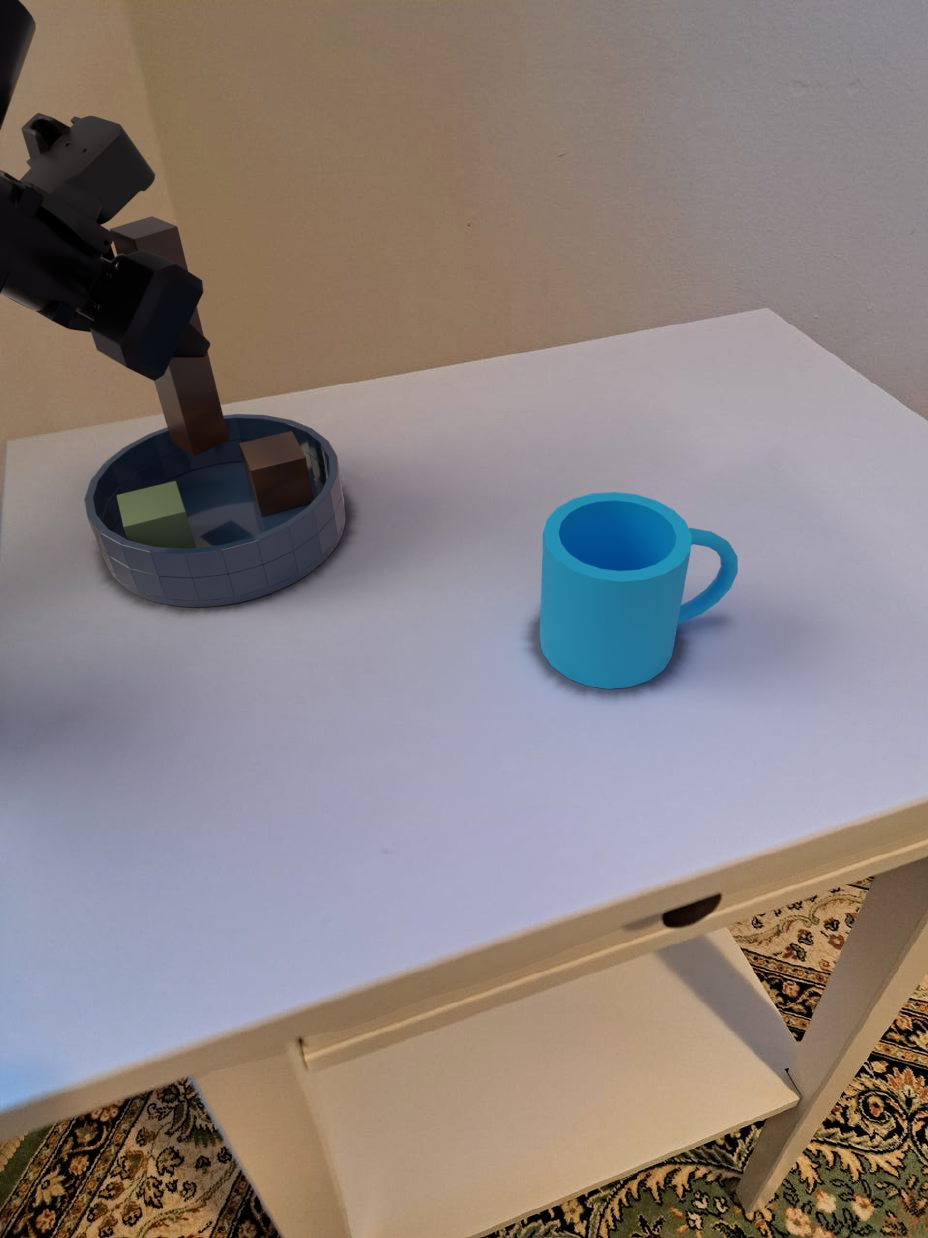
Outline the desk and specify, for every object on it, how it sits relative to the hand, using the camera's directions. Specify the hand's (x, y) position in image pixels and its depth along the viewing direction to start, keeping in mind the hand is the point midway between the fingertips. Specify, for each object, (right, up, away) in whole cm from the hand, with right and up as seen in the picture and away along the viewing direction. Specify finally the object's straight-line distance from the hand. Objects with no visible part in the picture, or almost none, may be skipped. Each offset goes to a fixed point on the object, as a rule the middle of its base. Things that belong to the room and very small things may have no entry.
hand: (193, 342), depth 60 cm
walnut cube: (+5, -10, +6) cm, 12 cm away
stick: (-1, -6, +4) cm, 7 cm away
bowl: (+1, -12, +4) cm, 13 cm away
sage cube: (-2, -14, +2) cm, 14 cm away
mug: (+29, -20, -5) cm, 36 cm away
